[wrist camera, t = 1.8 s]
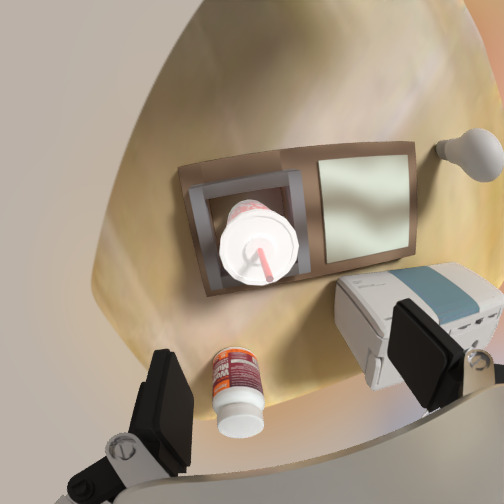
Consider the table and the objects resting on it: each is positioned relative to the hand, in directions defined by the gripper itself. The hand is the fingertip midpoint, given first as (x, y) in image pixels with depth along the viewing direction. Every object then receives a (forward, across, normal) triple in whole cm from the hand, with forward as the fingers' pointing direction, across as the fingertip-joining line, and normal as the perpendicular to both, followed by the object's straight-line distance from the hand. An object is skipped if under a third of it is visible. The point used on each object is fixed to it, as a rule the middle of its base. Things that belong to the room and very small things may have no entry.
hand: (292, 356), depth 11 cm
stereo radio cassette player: (+21, -19, +12) cm, 31 cm away
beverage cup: (+21, 0, 0) cm, 21 cm away
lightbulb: (+20, -26, -6) cm, 34 cm away
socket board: (+20, -7, 0) cm, 22 cm away
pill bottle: (+21, +5, +18) cm, 28 cm away
